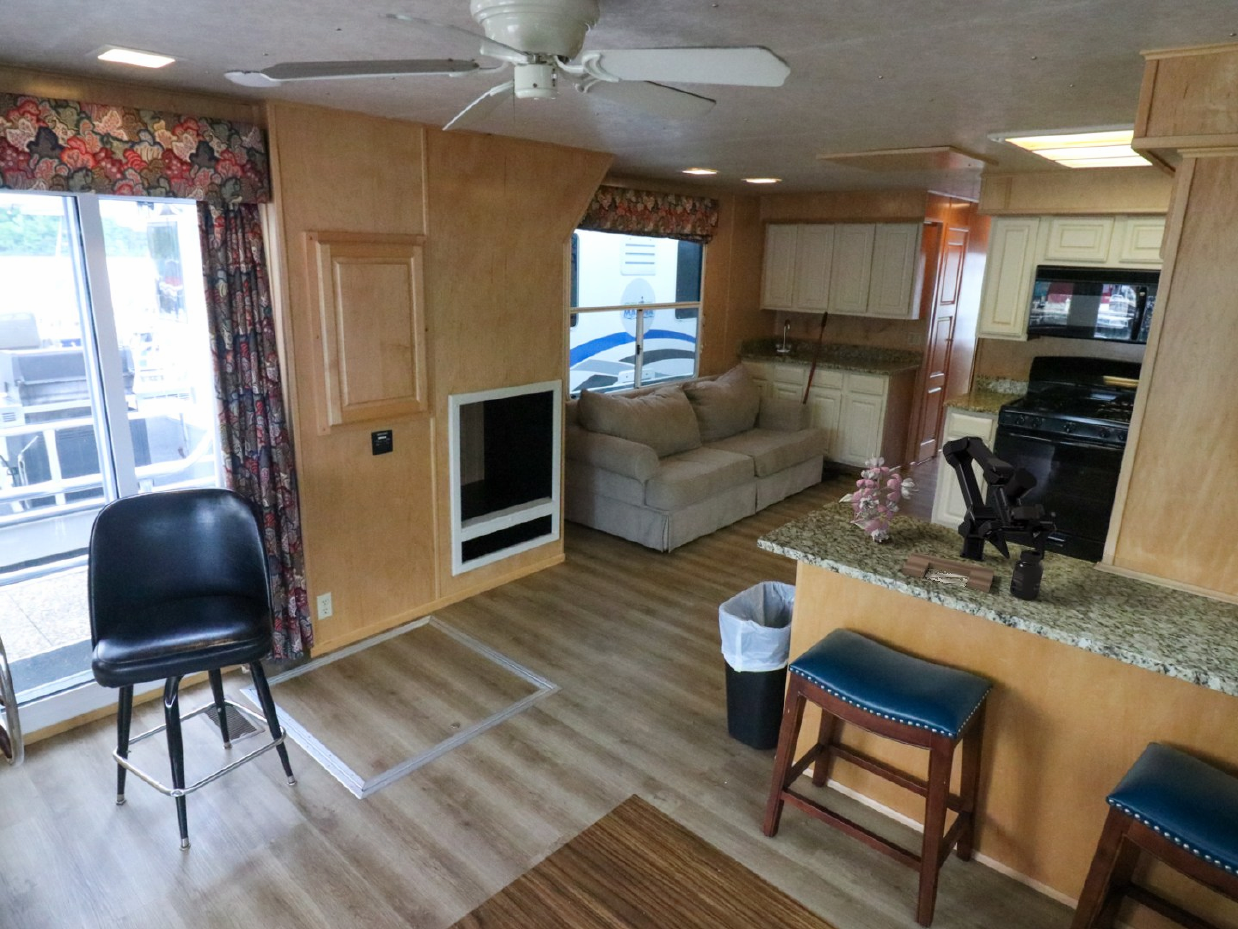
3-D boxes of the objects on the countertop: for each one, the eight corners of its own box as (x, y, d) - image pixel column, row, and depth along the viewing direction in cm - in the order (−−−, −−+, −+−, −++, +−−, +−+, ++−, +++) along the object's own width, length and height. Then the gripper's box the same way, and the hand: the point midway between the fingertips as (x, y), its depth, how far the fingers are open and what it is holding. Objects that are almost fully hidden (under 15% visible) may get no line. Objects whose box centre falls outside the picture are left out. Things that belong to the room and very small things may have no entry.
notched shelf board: (911, 558, 225) (912, 552, 225) (993, 575, 215) (994, 569, 214) (902, 574, 214) (903, 567, 213) (988, 593, 203) (989, 586, 202)
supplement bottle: (1041, 602, 199) (1050, 559, 196) (1013, 599, 200) (1021, 556, 197) (1033, 591, 205) (1041, 549, 202) (1005, 588, 206) (1013, 546, 203)
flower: (813, 526, 244) (852, 466, 231) (839, 503, 262) (877, 446, 248) (867, 566, 237) (910, 506, 224) (890, 539, 255) (932, 482, 241)
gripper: (990, 491, 202) (1006, 546, 195) (1059, 493, 203) (1077, 547, 196) (971, 510, 212) (985, 563, 204) (1036, 512, 213) (1053, 564, 205)
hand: (1025, 559), depth 202 cm, fingers open, 9 cm apart
